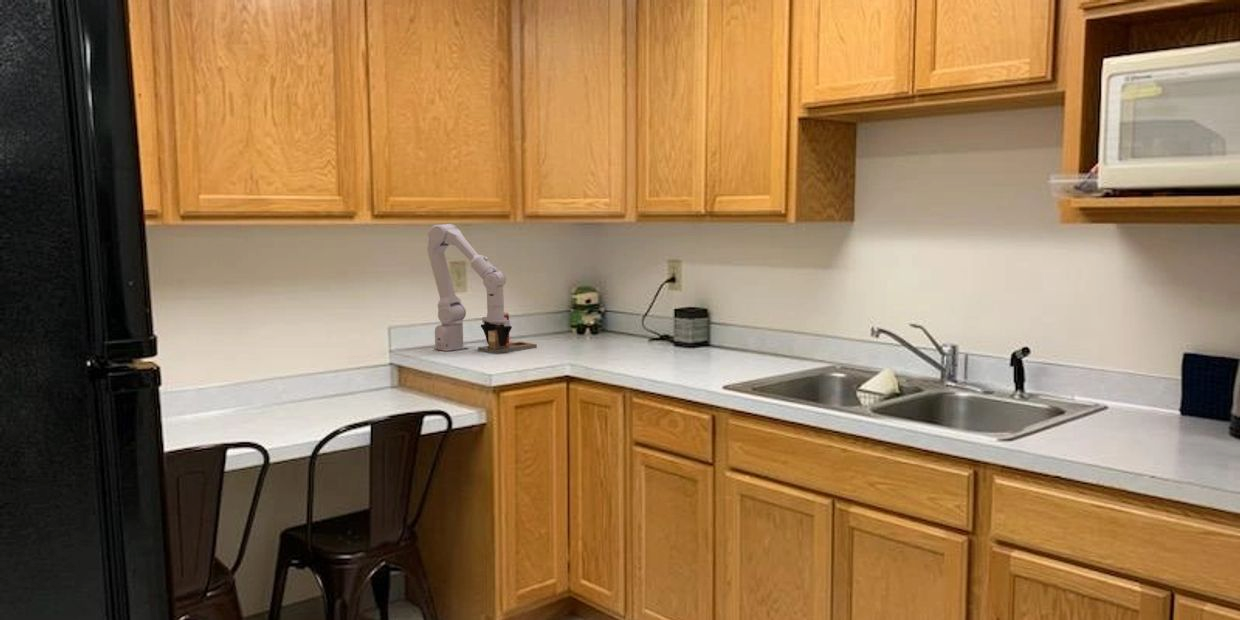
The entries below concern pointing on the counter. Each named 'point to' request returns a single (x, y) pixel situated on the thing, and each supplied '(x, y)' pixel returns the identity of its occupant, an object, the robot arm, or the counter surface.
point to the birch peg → (494, 340)
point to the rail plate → (508, 347)
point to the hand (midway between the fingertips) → (496, 345)
